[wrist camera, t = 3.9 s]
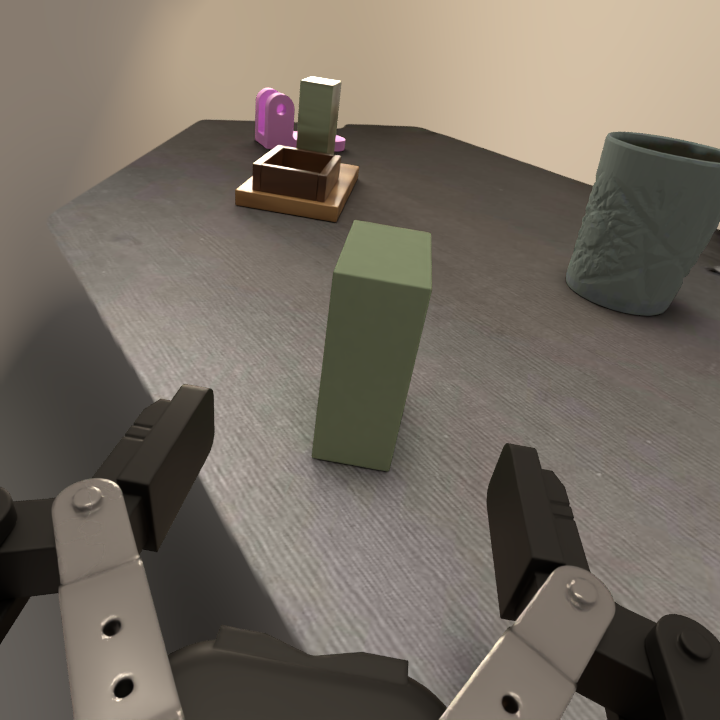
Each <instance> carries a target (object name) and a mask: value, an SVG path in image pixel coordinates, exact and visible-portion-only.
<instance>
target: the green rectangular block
mask: <svg viewBox="0 0 720 720" xmlns="http://www.w3.org/2000/svg"><path fill="white" fill-rule="evenodd" d="M431 292H432V259H431V233H428V232H422V231H416V230H410V229H405V228H399V227H393V226H387V225H381V224H376V223H370V222H364V221H358V220H354V222H353V224H352V227H351V229H350V232H349V234H348V237H347V239H346V242H345V244H344V247H343V249H342V252H341V254H340V257H339V259H338V262H337V264H336V267H335V269H334V272H333V279H332V287H331V296H330V304H329V313H328V321H327V330H326V339H325V347H324V356H323V364H322V373H321V381H320V390H319V398H318V407H317V415H316V424H315V432H314V441H313V449H312V458H316V459H322V460H327V461H333V462H338V463H344V464H349V465H355V466H360V467H366V468H371V469H377V470H382V471H389V469H390V465H391V461H392V457H393V452H394V448H395V444H396V440H397V435H398V431H399V427H400V423H401V419H402V414H403V410H404V406H405V402H406V397H407V393H408V389H409V385H410V381H411V376H412V372H413V368H414V364H415V359H416V355H417V351H418V347H419V343H420V338H421V334H422V330H423V326H424V322H425V317H426V313H427V309H428V305H429V300H430V296H431Z"/></svg>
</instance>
